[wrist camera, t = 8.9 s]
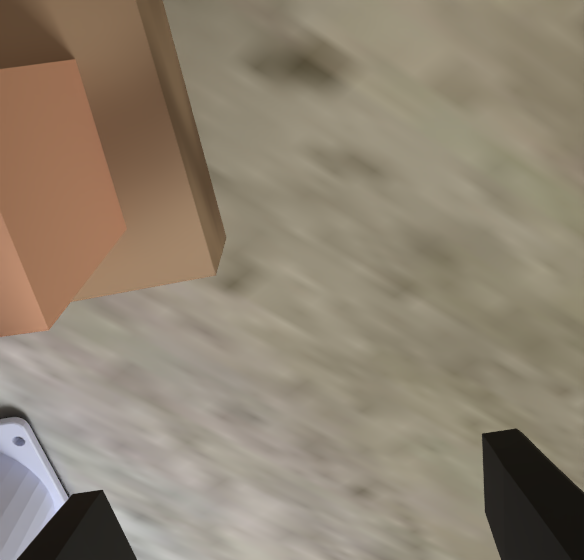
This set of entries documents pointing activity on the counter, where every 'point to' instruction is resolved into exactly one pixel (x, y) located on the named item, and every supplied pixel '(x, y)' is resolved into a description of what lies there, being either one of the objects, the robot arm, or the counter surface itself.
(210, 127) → the counter surface
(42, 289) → the terracotta block
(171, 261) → the walnut base block
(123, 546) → the robot arm
